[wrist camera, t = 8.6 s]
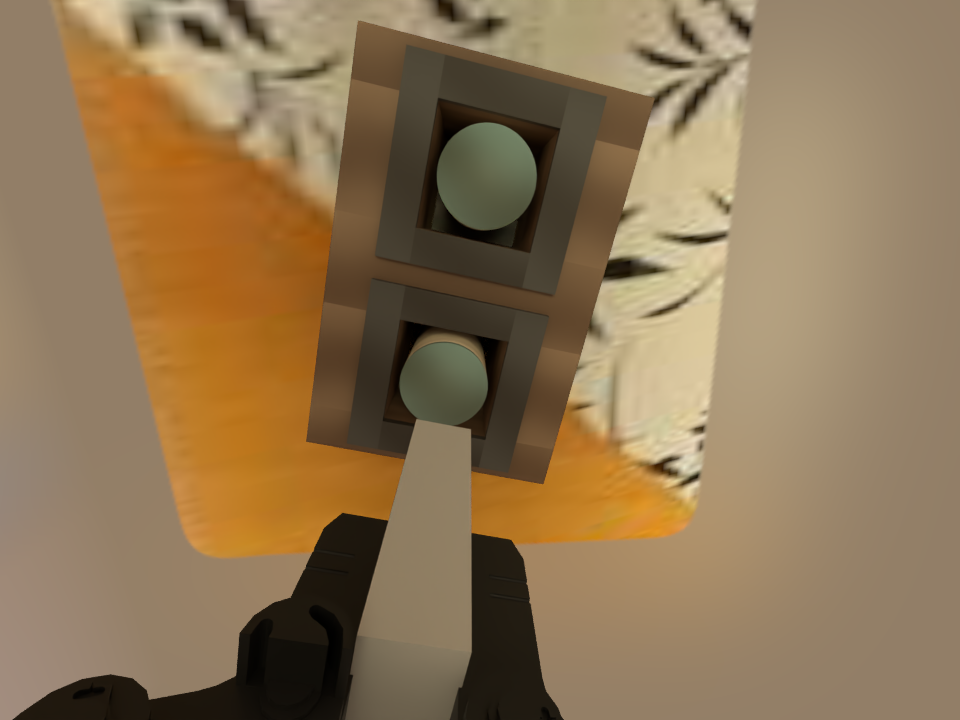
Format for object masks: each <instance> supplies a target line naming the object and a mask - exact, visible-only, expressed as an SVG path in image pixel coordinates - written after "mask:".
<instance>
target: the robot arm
mask: <svg viewBox="0 0 960 720" xmlns="http://www.w3.org/2000/svg"><path fill="white" fill-rule="evenodd" d="M526 583H527V579H526V572H525V566H524V560H523V558H522V556H521V555H520V553H519V552H518V550H517V548H516V547H515V545H514V544H513V542H512V541H511V540H509V539H503V538H497V537H491V536H485V535H479V534H474V533H471V429H466V428H461V427H456V426H450V425H445V424H440V423H434V422H429V421H424V420H419V419H416V423H415V426H414V430H413V434H412V437H411V441H410V445H409V448H408V452H407V455H406V459H405V463H404V466H403V470H402V474H401V477H400V481H399V484H398V488H397V492H396V495H395V499H394V503H393V506H392V510H391V513H390V517H389V521H387V520H381V519H375V518H369V517H363V516H357V515H351V514H346V513H342V514H341V515H339V516H338V517H337V518H336V519H334V520H333V521H332V522H331V523H330V524H328V525H327V526H326V527H325V528H324V529H323V531H322V533H321V536H320V538H319V540H318V542H317V544H316V546H315V548H314V552H312V554H311V556H310V558H309V561H308V563H307V565H306V569H305V570H304V571H303V573H302V575H301V577H300V579H299V581H298V583H297V585H296V588H295V590H294V592H293V594H292V596H291V598H288V599H285V600H281V601H278V602H275V603H272V604H271V605H269V606H268V607H266V608H265V609H263V610H262V611H260V612H259V613H257V614H256V615H254V616H253V617H252V619H251V620H250V621H249V622H248V623H247V625H246V626H245V627H244V628H243V630H242V631H241V632H240V636H239V648H238V660H237V673H236V676H235V677H234V678H231V679H229V680H227V681H225V682H223V683H221V684H219V685H217V686H213V687H210V688H206V689H203V690H199V691H195V692H189V693H184V694H178V695H173V696H168V697H162V698H157V699H151V700H149V698H148V694H147V690H146V689H144V688H143V687H142V686H141V685H140V684H138V683H137V682H136V681H135V680H134V679H132V678H127V677H122V676H116V675H111V674H110V675H104V676H98V677H92V678H86V679H81V680H79V681H77V682H74V683H72V684H69V685H67V686H65V687H62V688H60V689H58V690H55V691H53V692H51V693H49V694H48V695H46V696H45V697H44V698H42V699H41V700H39V701H38V702H36V703H35V704H33V705H32V706H30V707H29V708H27V709H26V710H24V711H23V712H21V713H20V714H19V715H18V716H17V717H15V718H14V719H13V720H564V719H563V718H562V717H561V715H560V712H559V709H558V707H557V706H556V704H555V703H554V702H553V700H552V699H551V697H550V696H549V695H548V693H547V692H546V690H545V686H544V682H543V679H542V673H541V667H540V661H539V654H538V648H537V642H536V635H535V629H534V623H533V616H532V610H531V604H530V603H529V599H530V597H529V591H528V586H527V585H526Z"/></svg>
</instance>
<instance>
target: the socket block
mask: <svg viewBox="0 0 960 720" xmlns="http://www.w3.org/2000/svg"><path fill="white" fill-rule="evenodd" d="M654 99H655V98H652V97H648V96H645V95H641V94H637V93H633V92H629V91H625V90H622V89H618V88H614V87H610V86H606V85H603V84H599V83H595V82H591V81H587V80H584V79H580V78H576V77H572V76H568V75H564V74H561V73H557V72H553V71H549V70H545V69H542V68H538V67H534V66H530V65H526V64H522V63H519V62H515V61H511V60H507V59H503V58H500V57H496V56H492V55H488V54H484V53H480V52H477V51H473V50H469V49H465V48H461V47H458V46H454V45H450V44H446V43H442V42H438V41H435V40H431V39H427V38H423V37H419V36H416V35H412V34H408V33H404V32H400V31H396V30H393V29H389V28H385V27H381V26H377V25H374V24H370V23H366V22H362V21H358V25H357V33H356V41H355V50H354V58H353V66H352V74H351V82H350V90H349V98H348V106H347V115H346V123H345V131H344V139H343V147H342V155H341V163H340V171H339V180H338V188H337V196H336V204H335V212H334V220H333V228H332V236H331V245H330V253H329V261H328V269H327V277H326V285H325V293H324V301H323V310H322V318H321V326H320V334H319V342H318V350H317V358H316V366H315V375H314V383H313V391H312V399H311V407H310V415H309V423H308V431H307V440H306V442H312V443H317V444H323V445H328V446H334V447H339V448H345V449H351V450H356V451H362V452H367V453H373V454H378V455H384V456H389V457H395V458H401V459H406V455H407V452H408V448H409V445H410V441H411V437H412V434H413V430H414V426H415V423H416V419H418V418H417V417H415V416H414V415H413V414H412V413H411V412H410V411H409V410H408V408H407V407H406V405H405V404H404V401H403V399H402V396H401V393H400V376H401V372H402V369H403V367H404V365H405V363H406V361H407V359H408V355H409V349H410V344H411V338H412V333H413V327H414V322H415V323H420V324H424V325H429V326H434V327H439V328H444V329H449V330H453V331H458V332H463V333H468V334H473V335H478V336H482V337H487V338H491V340H490V344H489V348H488V353H487V357H486V361H485V366H486V373H487V381H488V390H487V395H486V399H485V401H484V403H483V405H482V407H481V408H480V410H479V411H478V412H477V413H476V414H475V415H474V416H473V417H472V418H470V419H469V420H467V421H465V422H463V423H461V424H458V425H454V426H456V427H461V428H466V429H471V471H473V472H478V473H484V474H489V475H495V476H500V477H506V478H512V479H517V480H523V481H528V482H534V483H539V484H544V480H545V477H546V473H547V470H548V466H549V463H550V459H551V456H552V452H553V449H554V446H555V442H556V439H557V435H558V432H559V428H560V425H561V421H562V418H563V414H564V411H565V407H566V404H567V401H568V397H569V394H570V390H571V387H572V383H573V380H574V376H575V373H576V369H577V366H578V362H579V359H580V355H581V352H582V349H583V345H584V342H585V338H586V335H587V331H588V328H589V324H590V321H591V317H592V314H593V310H594V307H595V304H596V300H597V297H598V293H599V290H600V286H601V283H602V279H603V276H604V272H605V269H606V265H607V262H608V259H609V255H610V252H611V248H612V245H613V241H614V238H615V234H616V231H617V227H618V224H619V220H620V217H621V214H622V210H623V207H624V203H625V200H626V196H627V193H628V189H629V186H630V182H631V179H632V175H633V172H634V169H635V165H636V162H637V158H638V155H639V151H640V148H641V144H642V141H643V137H644V134H645V130H646V127H647V124H648V120H649V117H650V113H651V110H652V106H653V103H654ZM477 123H496V124H500V125H503V126H506V127H508V128H510V129H511V130H513V131H514V132H516V133H517V134H518V135H519V136H520V137H521V138H522V139H523V140H524V141H525V142H526V144H527V145H528V147H529V148H530V150H531V153H532V155H533V158H534V161H535V165H536V173H537V179H536V187H535V192H534V195H533V197H532V200H531V202H530V204H529V205H528V207H527V209H526V210H525V211H524V212H523V214H522V215H521V216H520V217H519V218H518V222H517V226H516V231H515V235H514V239H513V244H512V247H508V246H503V245H499V244H494V243H490V242H485V241H481V240H477V239H472V238H468V237H463V236H459V235H454V234H450V233H446V232H441V231H437V230H432V229H431V227H432V222H433V216H434V211H435V205H436V200H437V194H438V185H437V168H438V163H439V159H440V156H441V154H442V151H443V150H444V148H445V146H446V144H447V140H448V141H449V140H450V139H451V138H452V137H453V136H454V135H455V134H457V133H458V132H459V131H461V130H462V129H464V128H466V127H468V126H470V125H474V124H477ZM419 420H420V419H419Z"/></svg>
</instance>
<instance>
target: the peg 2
mask: <svg viewBox="0 0 960 720" xmlns="http://www.w3.org/2000/svg"><path fill="white" fill-rule="evenodd" d="M487 390H488V381H487V373H486V366H485V358H484V351H483V344H482V337H481V336H478V335H473V334H468V333H463V332H458V331H453V330H449V329H444V328H439V327H434V326H429V325H424V326H423V327H422V329H421V331H420V333H419V335H418V338H417V340H416V342H415V344H414V346H413V348H412V350H411V352H410V354H409V356H408V359H407V361H406V363H405V365H404V367H403V369H402V372H401V376H400V393H401V396H402V399H403V401H404V404H405V405H406V407H407V408H408V410H409V411H410V412H411V413H412V414H413V415H414V416H415V417H417V418H418V419H420V420H424V421H429V422H434V423H440V424H445V425H450V426H454V425H458V424H461V423H463V422H465V421H467V420H469V419H470V418H472V417H473V416H474V415H475V414H476V413H477V412H478V411H479V410H480V408H481V407H482V405H483V403H484V401H485V399H486V395H487Z"/></svg>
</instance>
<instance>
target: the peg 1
mask: <svg viewBox="0 0 960 720" xmlns="http://www.w3.org/2000/svg"><path fill="white" fill-rule="evenodd" d="M536 179H537V173H536V165H535V161H534V158H533V155H532V153H531V150H530V148H529V147H528V145H527V144H526V142H525V141H524V140H523V139H522V138H521V137H520V136H519V135H518V134H517V133H516V132H514V131H513V130H511V129H510V128H508V127H506V126H503V125H500V124H496V123H477V124H474V125H470V126H468V127H466V128H464V129H462V130H461V131H459V132H458V133H457V134H455V135H454V136H453V137H452V138H451V139H450V140H449V142H448V143H447V145H446V146H445V148H444V150H443V151H442V154H441V156H440V159H439V163H438V168H437V185H438V190H439V194H440V196H441V199H442V201H443V203H444V205H445V207H446V208H447V209H448V211H449V212H450V213H451V214H452V216H453V217H454V218H455V219H456V220H457V221H458V222H459V223H460V224H462V225H463V226H465V227H467V228H469V229H472V230H477V231H484V230H492V229H498V228H502V227H504V226H506V225H508V224H510V223H512V222H513V221H515V220H516V219H517V218H519V217H520V216H521V215H522V214H523V212H524V211H525V210H526V209H527V207H528V205H529V204H530V202H531V200H532V197H533V195H534V192H535V187H536Z"/></svg>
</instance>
